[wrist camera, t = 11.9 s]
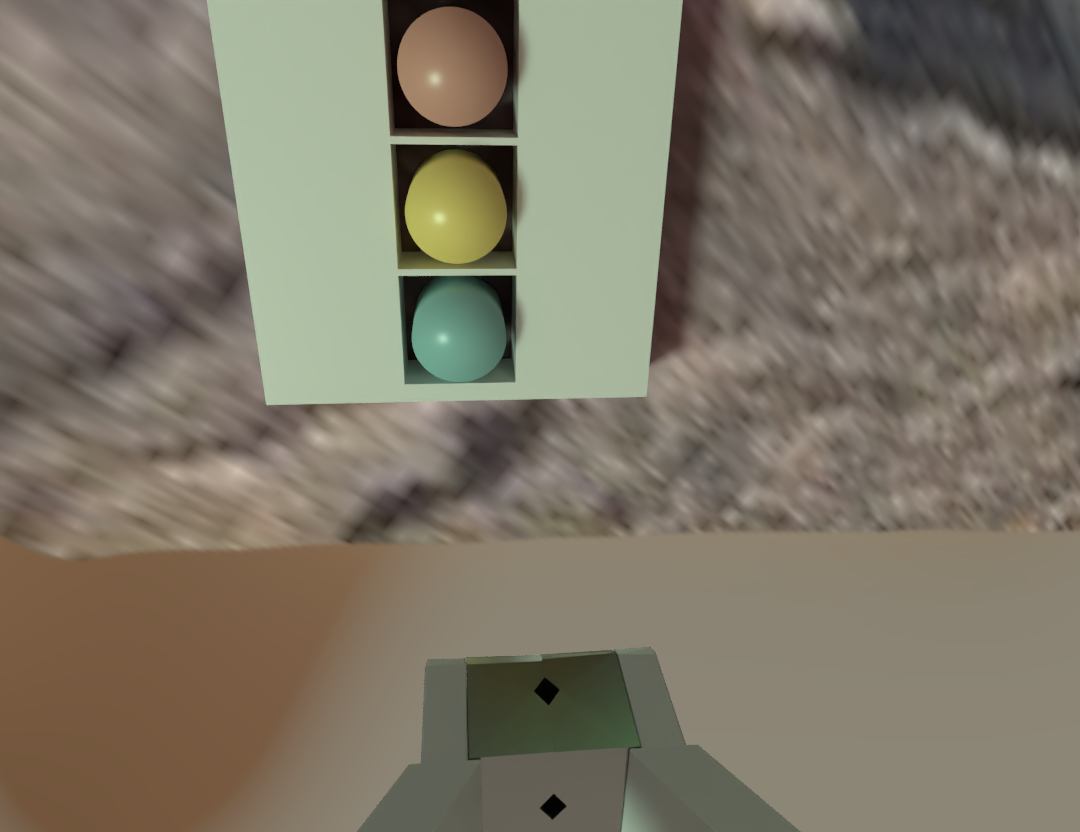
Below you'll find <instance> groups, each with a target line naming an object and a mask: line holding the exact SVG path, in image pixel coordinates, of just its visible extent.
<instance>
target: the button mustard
mask: <svg viewBox="0 0 1080 832" xmlns="http://www.w3.org/2000/svg"><path fill="white" fill-rule="evenodd" d="M405 219H406V224H407V227H408V230H409V233H410V235H411V236H412V238H413V240H414V241H415V243H416V244H417V245H418V246H419V247H420V248H421V249H422V250H423V251H424V252H425V253H426V254H428V255H429V256H431V257H432V258H435V259H437V260H439V261H442V262H446V263H451V264H463V263H469V262H472V261H475V260H478V259H480V258H482V257H483V256H485V255H486V254H488V253H489V252H490V251H491V250H492V249H493V248H494V247H495V246H496V245H497V243H498V242H499V240H500V239H501V237H502V235H503V232H504V230H505V226H506V221H507V207H506V202H505V198H504V195H503V191H502V188H501V185H500V182H499V179H498V177H497V175H496V173H495V172H494V170H493V168H492V167H491V166H490V165H489V164H488V163H487V162H486V161H485V160H484V159H482V158H481V157H479V156H478V155H476V154H474V153H472V152H469V151H465V150H460V149H449V150H444V151H440V152H437V153H435V154H433V155H431V156H430V157H428V158H427V159H426V160H425V161H424V162H422V163H421V165H420V166H419V167H418V168H417V170H416V172H415V173H414V175H413V178H412V181H411V184H410V188H409V191H408V195H407V199H406V204H405Z"/></svg>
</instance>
